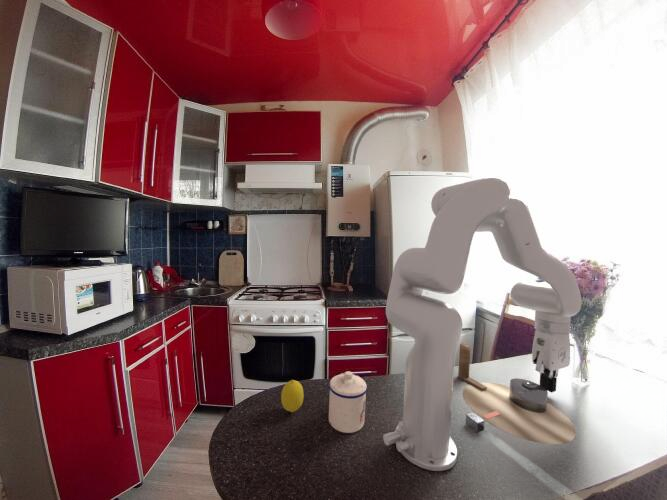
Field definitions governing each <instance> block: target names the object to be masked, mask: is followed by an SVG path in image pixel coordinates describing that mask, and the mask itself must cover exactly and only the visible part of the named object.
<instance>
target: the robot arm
mask: <svg viewBox="0 0 667 500" xmlns="http://www.w3.org/2000/svg"><path fill="white" fill-rule="evenodd" d="M430 204H431V205H430V206H431V211H432V212H433V214H434V216H435V217H434V218H433V221H432V223H431V226H430V231H429V233H428V236H427V241H426V244H425V247H410V248H408V249H406V250H405V251H402V253H400V255H399V256H398V258H397V260H396V262H395V263H394V267H393V272H392V275H391V279H390V284H389V288H388V289H389V290H388V293H387V299H386V303H385V304H386V306H385V315H386V319H387V321H388V323H389V324H390V325H391V326H392V327H394V328H395V329H397V330H399V331H400V332H402V333H404V334H406V335H408V336H409V337H411V338H412V339H413V340H414V344H413V345H412V347H411V348H410V350H409V352H407V355H406V359H405V369H404V370H405V373H404V390H403V392H404V393H403V408H402V409H403V410H402V420H399V421H398V424H397V426H396V428H395V430H394V431H393V432H392V431H390V432H386V433H384V434H383V435H382V436H383V437H382V438H383V442H384V444H385V445H386V446H390V445H393V444H395V445H396V450H397V451H398V452H399V453H400V454H401V455H402V456H403V457H404V458H405V459H406V460H407V461H409V462H410V463H412V465H416V466H418V467H419V468H421V469H424V470H427V471H433V472H443V471H447V470H449V469H451V468H453V467H454V466H455V465H456V463H457V462H458V461H457V460H458V448H457V445H456V443H455V441H454V439H452V437H451V427H452V425H451V423H452V422H451V421H452V408H453V407H452V406H453V391H454V373H455V363H456V362H455V361H456V356H457V355H456V354H457V349H458V346H459V343H460V339H461V335H462V332H463V319H462V316H461V314H460V313H459V311H458V310H456V309H457V308H455V307H453V306H452V305H451V304H449V303H447V302H445V301H443V300H440V299H436V298H435V297H434V298H433V297H430V296H426V295H423V291H429V292H432V293H436V294H437V293H438V294H441V295H451V294H454V293H456V292H458V291H459V290H460V288H461V287H462V285H463V282H464V278H465V274H466V269H467V266H468V265H467V264H468V260H469V256H470V252H471V246H472V243H473V238H474V235H475V232H482V233H483V232H490V233H492V236H493V238H494V241H495V243H496V245H497V248H498V250H499V253H500V255H501V258H502V260H503V261H505V263H507V264H509V265H510V266H512V267H515V268H517V269H519V270H522V271H524V272H526V273H529V274H531V275H533V276H534V277H535V276H536V277H538V278H539V279H540V280H542V281H540V282H535V281H525V280H524V281H519V282H517V283H515V284H514V285H513V287H512V288H511V289H510V298H511V301H512V302H513V303H514V304H515V305H517V306H519V307H521V308H524V309H526V310H531V311H535V312H534V314H535V315H534V326H533V327H534V329H535V331H534V336H533V341H532V342H533V343H532V352H531V361H532V364H534V365H535V369H534V370H535V371H536V372H539V375H540V376H539V385H540V386H542V387H544V388H545V389H546V390H547V392H548V393H549V392H550V393H554V392H556V391H557V379H558V378H557V377H558V375H559V370H560V369H563V368H567V367H569V365H570V362H571V338H570V334H571V333H570V330H571V317H574V316H576V315H577V314H578V313H579V312H580V311H581V309H582V302H583V301H582V295H581V291H580V288H579V285H578V281H577V279H576V276H575V274H574V273H573V271H572V270H571V269H570V268H569V267H568V266H567V265H566V264H564V263H563V262H562V261H561V260H560V259H559V258H557V257H556V256H555V255H553V254H552V253H550V252H548V251H547V250H545V249H544V248H543V247H542V245H541V242H540V239H539V235H538V232H537V230H536V227H535V225H534V224H535V223H534V221H533V217H532V215H531V212H530V210H529V207H528V204H527V202H526V201H525V200H524V199H523V198H521V197H518V196H511V186H510V184H509V182H508V181H507V180H506V178H505V179H504V178H502V177H498V176H488V177H483V178H480V179H475V180H471V181H466V182H463V183H457V184H455V185H449V186H446V187H442V188H441V189H439V190H438V191H436V192H435V193H434V195H433V196H432V198H431V203H430Z"/></svg>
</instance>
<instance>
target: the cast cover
mask: <svg viewBox="0 0 667 500" xmlns="http://www.w3.org/2000/svg"><path fill="white" fill-rule="evenodd" d="M509 386H510V393H509V398H510V400H511V401H512V402H513V403H514V404H516V405H517V406H519V407H521V408H523V409H526V410H528V411H532V412H537V413H543V412H546V409H547V403H548V397H549V396H548V393H549V391H547V390H546V389H545V388H544V387H542V386H540V383H536V382H535V381H531V380H528V379H524V378H511V379H510V383H509Z"/></svg>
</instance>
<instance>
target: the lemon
mask: <svg viewBox="0 0 667 500" xmlns="http://www.w3.org/2000/svg"><path fill="white" fill-rule="evenodd" d="M281 390H282V391H281V395H280V401H281V405H282V407H283V409H284V410H285V411H287V412H290V413H294V412H296V411H297V410H299V409H300V407H302V405H303V402H304V398H305V397H304V396H305V394H304V388H303V385H302V384H301V382H299V381H298V380H294V379H291V380H289V381H287V382H286V383H285V384H284V386H283V388H282V389H281Z"/></svg>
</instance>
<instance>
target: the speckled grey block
mask: <svg viewBox="0 0 667 500" xmlns="http://www.w3.org/2000/svg"><path fill="white" fill-rule="evenodd" d="M465 425H466V426H467V427H469V428H470V430H472V431H473V432H474V433H476V434H478V433H481V432H483V431H484V430H485V426H484V425H485V420H484V419H482V418H481V417H480V416H478V415H477V414H476V413H475V412H474V411H472V412H469V413H466V414H465Z"/></svg>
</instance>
